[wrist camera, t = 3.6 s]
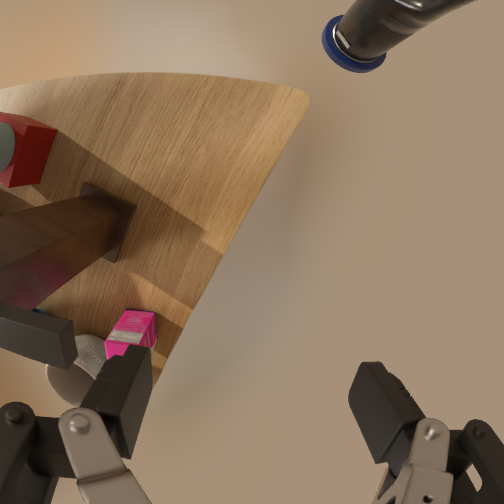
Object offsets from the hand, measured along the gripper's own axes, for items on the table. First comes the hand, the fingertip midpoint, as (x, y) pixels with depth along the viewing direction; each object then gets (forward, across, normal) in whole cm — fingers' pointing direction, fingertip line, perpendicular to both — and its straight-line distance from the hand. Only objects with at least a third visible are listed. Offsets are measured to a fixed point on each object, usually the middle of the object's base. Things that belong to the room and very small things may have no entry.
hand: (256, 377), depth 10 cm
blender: (+36, +40, -10) cm, 54 cm away
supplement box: (+36, +15, +20) cm, 44 cm away
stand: (+36, +23, +3) cm, 43 cm away
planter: (+36, +26, +29) cm, 53 cm away
